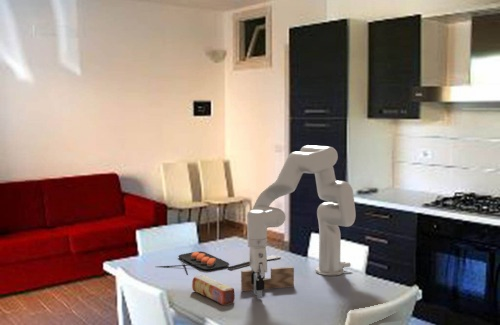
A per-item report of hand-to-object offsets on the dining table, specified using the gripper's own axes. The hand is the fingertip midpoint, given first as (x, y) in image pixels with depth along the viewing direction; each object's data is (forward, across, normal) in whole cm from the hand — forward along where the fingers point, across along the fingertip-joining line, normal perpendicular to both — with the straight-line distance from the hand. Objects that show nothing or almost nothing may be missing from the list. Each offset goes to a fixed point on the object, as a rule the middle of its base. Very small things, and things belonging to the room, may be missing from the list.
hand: (257, 286), depth 206 cm
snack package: (+5, +5, +17) cm, 18 cm away
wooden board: (+4, +9, -7) cm, 12 cm away
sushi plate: (+5, +50, +20) cm, 54 cm away
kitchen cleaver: (+5, +47, -9) cm, 48 cm away
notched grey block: (+4, 0, 0) cm, 4 cm away
